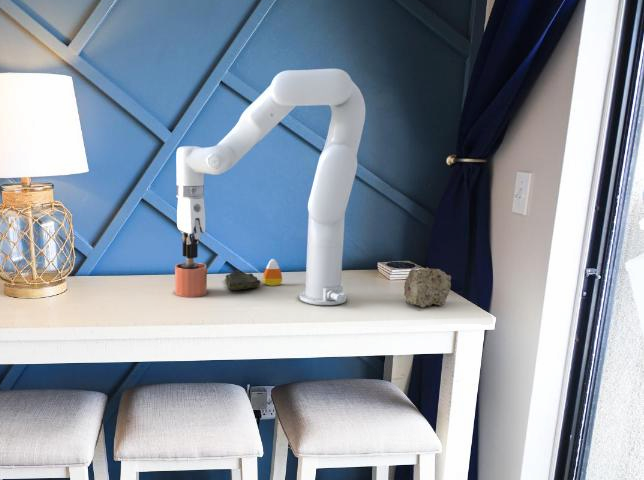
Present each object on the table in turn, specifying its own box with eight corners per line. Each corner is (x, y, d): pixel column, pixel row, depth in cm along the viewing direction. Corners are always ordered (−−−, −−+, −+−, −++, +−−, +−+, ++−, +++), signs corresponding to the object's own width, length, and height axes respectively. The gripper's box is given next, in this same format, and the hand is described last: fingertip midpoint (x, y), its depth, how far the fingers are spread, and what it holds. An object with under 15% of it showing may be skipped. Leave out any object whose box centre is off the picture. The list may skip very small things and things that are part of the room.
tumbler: (211, 294, 181) (211, 267, 179) (182, 298, 178) (182, 270, 176) (198, 287, 189) (198, 261, 187) (170, 291, 186) (170, 264, 184)
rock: (397, 275, 177) (412, 263, 167) (441, 278, 177) (458, 266, 168) (399, 313, 173) (415, 303, 164) (444, 316, 174) (462, 306, 165)
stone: (219, 272, 199) (249, 266, 200) (221, 285, 200) (252, 280, 201) (230, 282, 181) (264, 275, 182) (232, 296, 181) (266, 290, 182)
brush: (201, 283, 181) (201, 238, 178) (185, 285, 179) (185, 239, 176) (194, 279, 186) (194, 235, 183) (178, 281, 184) (178, 236, 181)
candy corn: (281, 283, 193) (281, 257, 192) (283, 285, 191) (283, 259, 189) (261, 283, 193) (262, 258, 191) (263, 286, 190) (263, 260, 188)
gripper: (214, 194, 171) (214, 261, 175) (190, 188, 185) (190, 250, 189) (189, 195, 168) (189, 263, 172) (166, 189, 182) (167, 252, 186)
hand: (190, 256), depth 181 cm, fingers closed on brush
